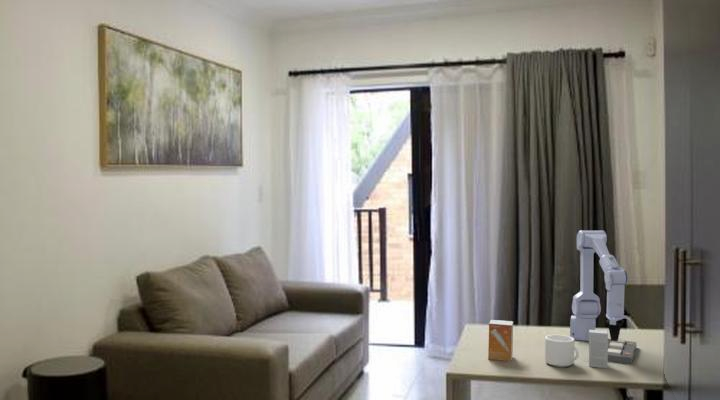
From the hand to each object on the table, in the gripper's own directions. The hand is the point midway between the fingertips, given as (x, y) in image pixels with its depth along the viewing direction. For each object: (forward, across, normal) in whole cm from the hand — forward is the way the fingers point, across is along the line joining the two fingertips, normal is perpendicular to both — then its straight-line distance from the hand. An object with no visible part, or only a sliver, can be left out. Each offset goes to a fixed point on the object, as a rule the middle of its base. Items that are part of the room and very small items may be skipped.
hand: (614, 340), depth 228 cm
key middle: (+6, +7, 0) cm, 9 cm away
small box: (+7, -19, +36) cm, 41 cm away
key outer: (+7, 0, 0) cm, 7 cm away
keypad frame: (+6, +7, 0) cm, 9 cm away
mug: (+7, -16, +15) cm, 23 cm away
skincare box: (+7, -12, +4) cm, 14 cm away
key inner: (+6, +14, 0) cm, 15 cm away
